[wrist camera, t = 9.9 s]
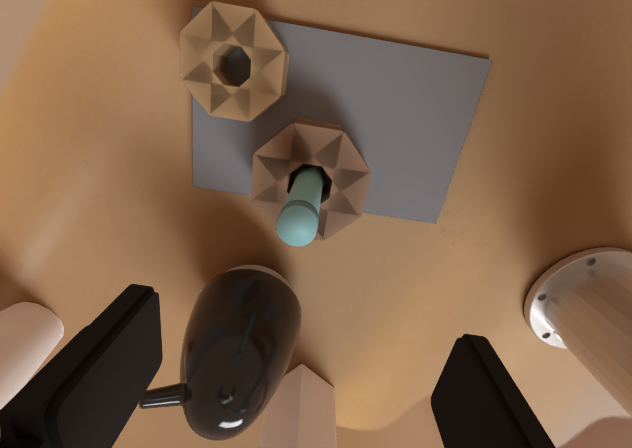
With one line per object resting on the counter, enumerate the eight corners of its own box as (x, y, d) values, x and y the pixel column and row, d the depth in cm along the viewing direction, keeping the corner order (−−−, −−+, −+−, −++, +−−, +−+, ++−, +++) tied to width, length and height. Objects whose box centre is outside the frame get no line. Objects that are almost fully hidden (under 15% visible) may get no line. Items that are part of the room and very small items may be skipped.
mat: (489, 60, 25) (492, 60, 24) (434, 221, 30) (435, 223, 30) (194, 7, 23) (191, 5, 23) (194, 185, 29) (192, 186, 29)
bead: (371, 129, 26) (379, 137, 23) (350, 225, 30) (354, 245, 26) (265, 111, 26) (256, 116, 22) (256, 211, 30) (247, 229, 26)
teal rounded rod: (326, 162, 27) (321, 212, 16) (322, 186, 28) (314, 250, 17) (300, 157, 27) (278, 205, 16) (297, 182, 28) (273, 243, 17)
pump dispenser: (214, 238, 31) (130, 360, 18) (314, 263, 32) (309, 397, 19) (202, 315, 36) (125, 463, 22) (290, 335, 37) (272, 489, 23)
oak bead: (292, 24, 23) (288, 15, 20) (282, 121, 26) (277, 126, 23) (198, 7, 23) (178, -5, 20) (198, 107, 26) (181, 110, 23)
